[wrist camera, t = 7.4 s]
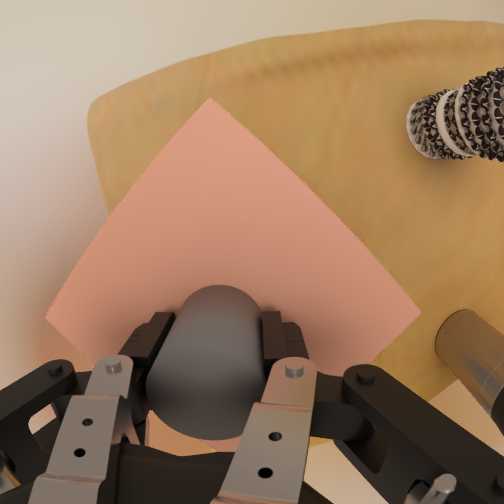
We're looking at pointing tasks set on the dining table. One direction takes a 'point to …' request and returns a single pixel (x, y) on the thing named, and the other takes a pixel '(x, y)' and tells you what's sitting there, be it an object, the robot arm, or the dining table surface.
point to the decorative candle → (461, 120)
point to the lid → (226, 278)
